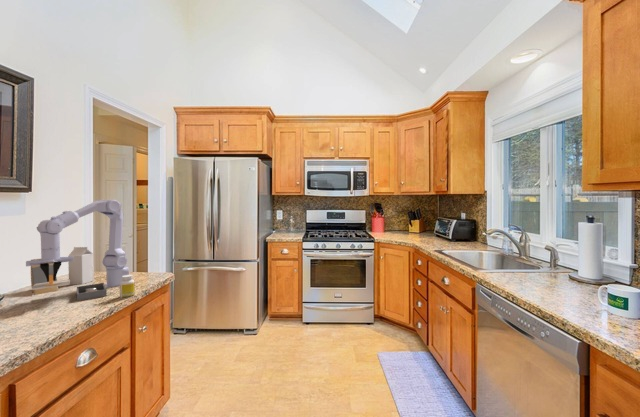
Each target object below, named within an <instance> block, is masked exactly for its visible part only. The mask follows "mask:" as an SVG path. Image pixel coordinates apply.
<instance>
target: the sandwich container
mask: <svg viewBox="0 0 640 417" xmlns="http://www.w3.org/2000/svg"><path fill="white" fill-rule="evenodd" d="M39 259H40V258H33V259H32V260H39ZM45 263H48V262H45ZM53 264H54V263H51V264H49V275H53V274H54V272H53ZM56 281H58V278H57V277H56ZM46 282H47V278H46V276H45V274H44V272H43V270H42V269H41V268H40V265H32V266H30V284H31V287H30V288H32V286H33V285H35V284H39V283H46ZM53 292H59V286H56V287H49V288H42V289H36V290H32V289H31V293H32V294H33V295H34V296H37V295H43V294H48V293H53Z"/></svg>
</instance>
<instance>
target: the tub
mask: <svg viewBox="0 0 640 417" xmlns="http://www.w3.org/2000/svg"><path fill="white" fill-rule="evenodd" d="M105 284H106V283H104V282H100V283H99V282H98V283H95V284H94V283H93V284H87V285H80V286H76V301H77V302H81V301H85V300H92V299H96V298H104V297H107V296H108V295H107V288H106V286H105ZM90 287H97V291H92V292H86V290H85V289H86V288H90Z"/></svg>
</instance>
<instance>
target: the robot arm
mask: <svg viewBox="0 0 640 417" xmlns="http://www.w3.org/2000/svg"><path fill="white" fill-rule="evenodd" d="M94 212H98V213H101V214H103V215H105V216H106V217H107V218H109V235H108V249H107V250H106V252H105V253H104V257H103V258H102V260H101V261H102V262H101V263H102V266H104V267H105V272H106V283H104V284H105V287H106V289H109V288H115V287H120V282H121V281H122V276H124V275H130V270H129V267H128V266H126V265H127V263H128V259H127V256H126V255H127V254H126V251H124V250H123V248H122V247H123V235H124V234H123V232H124V230H123V229H124V228H123V227H124V213H123V209H122V203H120V202H119V200H118V199H97V200H95V201H92V202H91V203H89V204H87V205H85V206H82V207H81V208H79V209H77V210H75V211H71V210H64V211H62V213H61V214H58V215H56V216H51V217H50V219H45V220H42V221H40V222H39V223H38V225H37V226H36V230H37V232H39V234H40V255H41V256H40V258H38V259H39V260H33V259H30V260H26V261H25V267H31V266H32V265H40V268H41V269H42V270H43V272H44V274H45V276H46V278H47V282H49V264H51V263H54V264H53V272H54V274H53V281H56V278H57V274H58V271H60V268H61V266H62V263H68V262H70V261H71V262H73V261H74V256H72V257H68V256H61V244H60V243H61V241H60V240H61V239H60V238H61V237H60V236H61V235H60V233H61V232H62V231H63V229H65V228H67V227H70V226H72V225H74V224H77V223H78V222H79V219H80V218H82V217H85V216H87V215H89V214H92V213H94ZM45 262H48V263H45Z"/></svg>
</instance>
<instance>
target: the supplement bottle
mask: <svg viewBox="0 0 640 417" xmlns="http://www.w3.org/2000/svg"><path fill="white" fill-rule="evenodd" d="M133 276H134V275H133V274H129V275H124V276H122V281H121V282H120V286H119V298H120V299H123V300H124V299H125V300H126V299H130V298H133V297H135V294H136V293H135V292H136V291H135V287H136V286H135V280H134V279H133Z"/></svg>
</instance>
